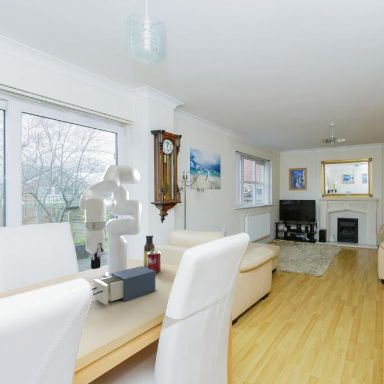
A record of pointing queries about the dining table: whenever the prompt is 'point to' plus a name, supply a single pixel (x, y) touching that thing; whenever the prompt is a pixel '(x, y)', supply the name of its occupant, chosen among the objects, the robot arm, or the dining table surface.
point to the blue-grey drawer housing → (136, 281)
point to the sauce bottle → (148, 248)
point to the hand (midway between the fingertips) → (95, 268)
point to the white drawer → (108, 289)
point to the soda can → (154, 261)
